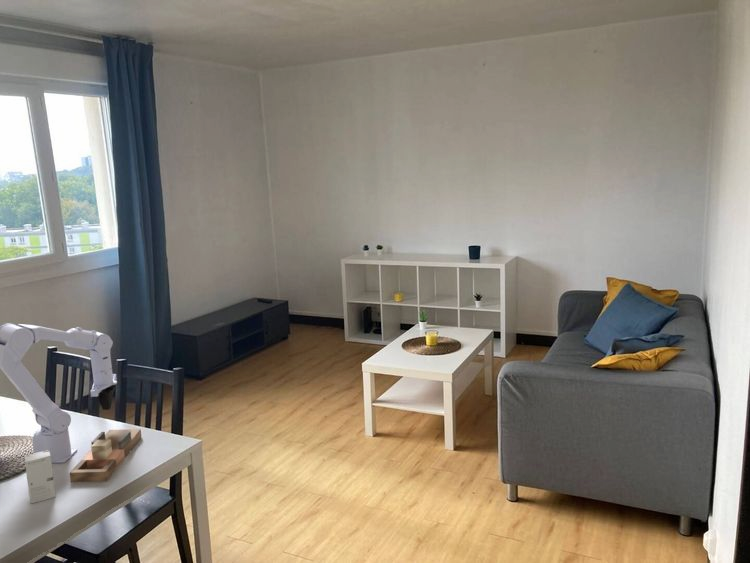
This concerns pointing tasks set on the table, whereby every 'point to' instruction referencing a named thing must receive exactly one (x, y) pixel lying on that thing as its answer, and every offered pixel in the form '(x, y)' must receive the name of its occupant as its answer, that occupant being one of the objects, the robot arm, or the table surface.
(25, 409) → the table surface
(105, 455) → the maple block
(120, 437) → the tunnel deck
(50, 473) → the skincare box
